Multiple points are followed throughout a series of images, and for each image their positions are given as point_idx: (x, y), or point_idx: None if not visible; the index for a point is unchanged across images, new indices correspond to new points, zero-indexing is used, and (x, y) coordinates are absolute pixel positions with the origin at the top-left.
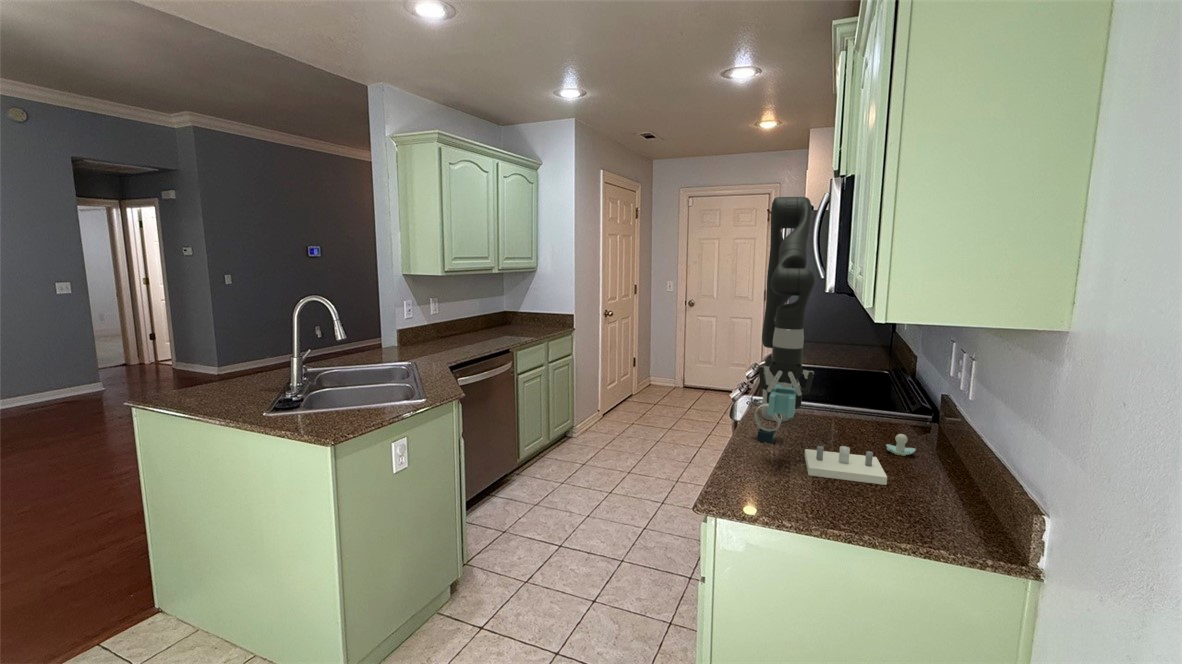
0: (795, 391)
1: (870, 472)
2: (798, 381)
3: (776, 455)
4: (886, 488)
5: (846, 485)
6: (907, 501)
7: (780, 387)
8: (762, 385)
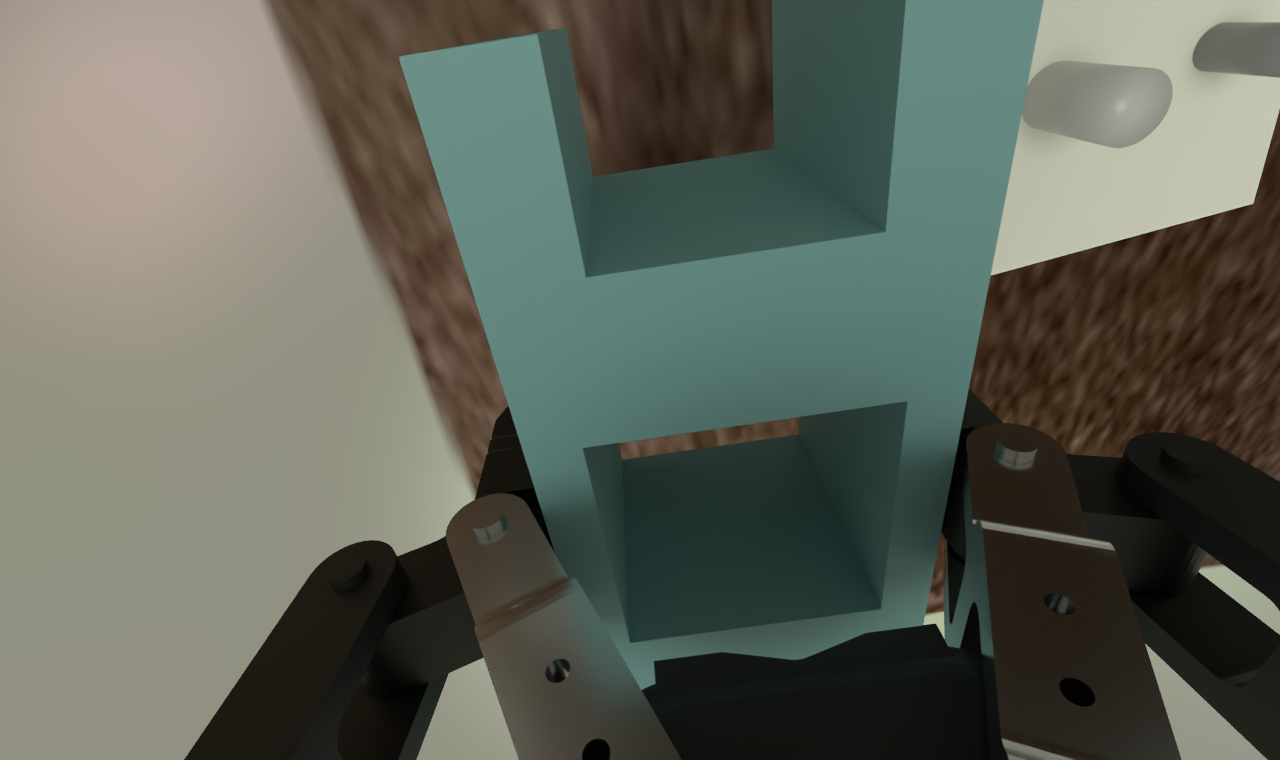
0: (929, 454)
1: (1178, 183)
2: (1116, 607)
3: (607, 92)
4: (1191, 236)
5: (997, 312)
6: (1230, 329)
7: (620, 347)
8: (402, 703)
